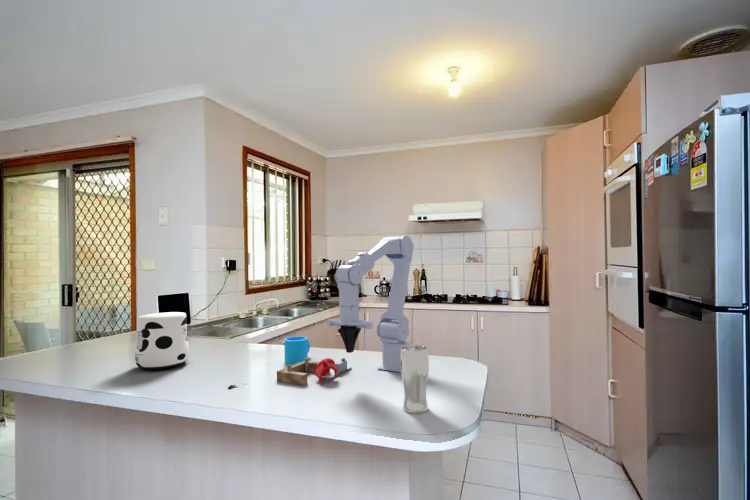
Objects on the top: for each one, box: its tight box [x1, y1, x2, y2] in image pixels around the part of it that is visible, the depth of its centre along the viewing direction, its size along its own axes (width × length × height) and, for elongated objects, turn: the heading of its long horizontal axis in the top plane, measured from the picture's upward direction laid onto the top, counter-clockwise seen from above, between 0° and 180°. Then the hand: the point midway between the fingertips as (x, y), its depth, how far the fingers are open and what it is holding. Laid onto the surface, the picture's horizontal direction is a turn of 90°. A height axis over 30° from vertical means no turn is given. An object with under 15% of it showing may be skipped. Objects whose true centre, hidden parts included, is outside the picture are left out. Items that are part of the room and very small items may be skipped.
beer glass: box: [400, 344, 430, 415], centre depth 99 cm, size 7×7×15 cm
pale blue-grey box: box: [335, 357, 348, 374], centre depth 132 cm, size 2×5×4 cm, turn 152°
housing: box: [276, 358, 352, 386], centre depth 129 cm, size 14×20×4 cm
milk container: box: [134, 311, 191, 370], centre depth 144 cm, size 17×17×18 cm
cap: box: [314, 357, 338, 381], centre depth 124 cm, size 8×6×6 cm
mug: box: [283, 335, 311, 365], centre depth 148 cm, size 12×8×8 cm
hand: (350, 351), depth 119 cm, fingers closed
